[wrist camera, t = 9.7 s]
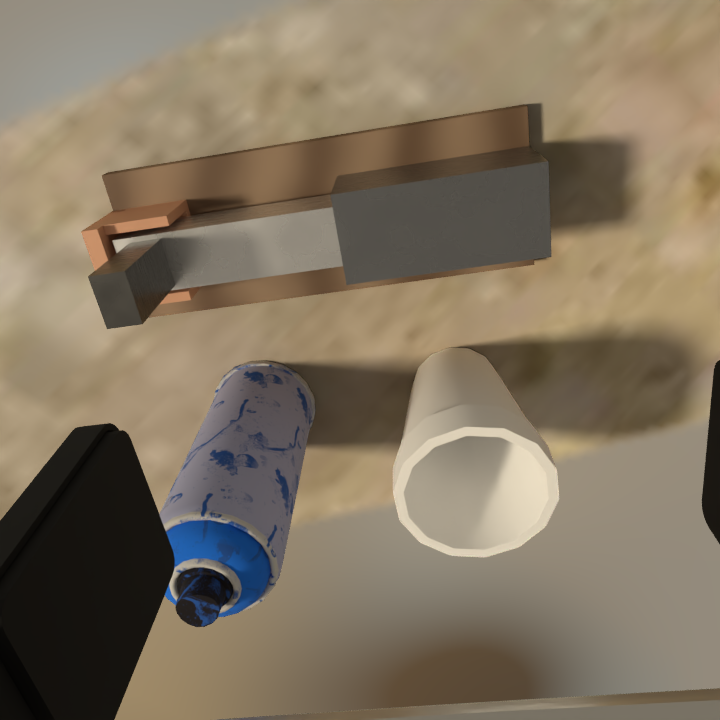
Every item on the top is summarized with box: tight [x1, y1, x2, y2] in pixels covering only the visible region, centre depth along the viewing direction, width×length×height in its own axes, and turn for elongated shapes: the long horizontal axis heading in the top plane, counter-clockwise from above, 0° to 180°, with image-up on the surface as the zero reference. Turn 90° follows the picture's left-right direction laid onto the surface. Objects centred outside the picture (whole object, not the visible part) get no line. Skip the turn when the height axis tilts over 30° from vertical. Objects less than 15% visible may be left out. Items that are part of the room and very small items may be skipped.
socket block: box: [81, 200, 201, 304], centre depth 41 cm, size 5×5×5 cm
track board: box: [102, 105, 534, 317], centre depth 43 cm, size 27×10×1 cm, turn 99°
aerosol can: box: [159, 361, 316, 627], centre depth 41 cm, size 8×8×20 cm
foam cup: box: [393, 348, 559, 557], centre depth 43 cm, size 10×9×13 cm
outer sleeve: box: [330, 146, 551, 285], centre depth 39 cm, size 12×5×5 cm, turn 99°
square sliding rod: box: [88, 195, 343, 329], centre depth 38 cm, size 16×4×10 cm, turn 99°
